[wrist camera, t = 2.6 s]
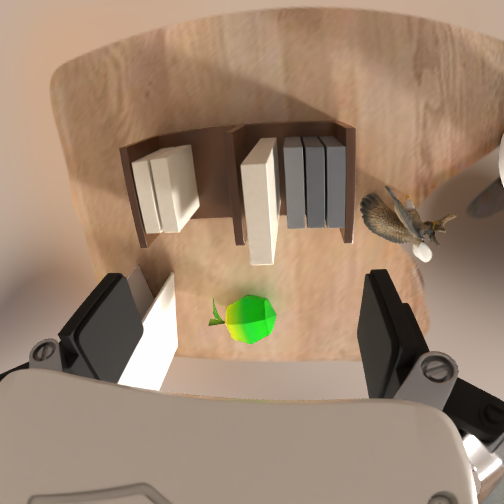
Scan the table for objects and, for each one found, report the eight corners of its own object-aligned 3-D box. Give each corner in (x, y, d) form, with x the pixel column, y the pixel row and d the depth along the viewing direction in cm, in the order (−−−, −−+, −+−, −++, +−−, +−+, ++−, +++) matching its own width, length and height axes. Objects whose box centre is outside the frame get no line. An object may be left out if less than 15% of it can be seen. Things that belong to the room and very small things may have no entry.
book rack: (340, 121, 28) (355, 128, 21) (340, 211, 33) (352, 243, 26) (154, 135, 31) (119, 148, 24) (168, 217, 36) (140, 248, 29)
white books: (191, 144, 31) (166, 157, 24) (200, 206, 34) (179, 232, 28) (161, 148, 31) (131, 162, 25) (171, 208, 34) (146, 234, 28)
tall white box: (136, 264, 40) (7, 452, 14) (174, 271, 40) (58, 484, 13) (146, 338, 47) (68, 499, 21) (177, 345, 46) (109, 518, 20)
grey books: (333, 136, 28) (345, 146, 22) (334, 201, 32) (344, 228, 25) (285, 137, 29) (283, 147, 23) (288, 202, 32) (287, 229, 26)
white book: (276, 137, 29) (266, 162, 18) (280, 202, 32) (273, 264, 21) (260, 138, 29) (240, 164, 18) (265, 203, 33) (250, 265, 21)
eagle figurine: (446, 185, 28) (382, 164, 27) (464, 241, 25) (398, 226, 24) (411, 220, 35) (351, 207, 34) (422, 271, 32) (358, 263, 31)
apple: (273, 339, 33) (200, 347, 35) (284, 342, 39) (220, 350, 41) (266, 278, 36) (196, 290, 38) (277, 290, 42) (216, 301, 44)
